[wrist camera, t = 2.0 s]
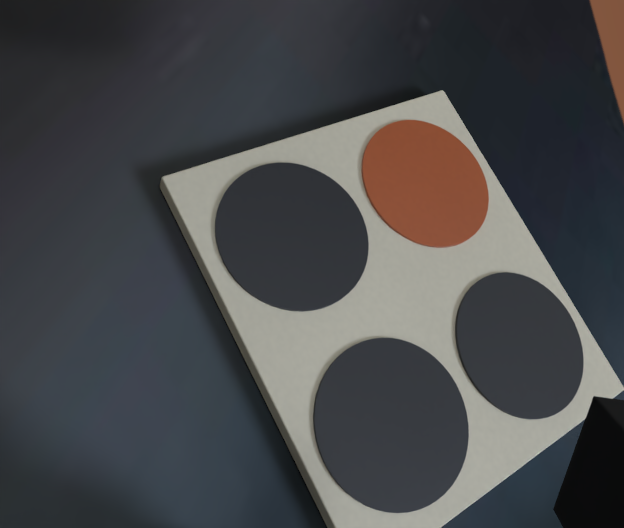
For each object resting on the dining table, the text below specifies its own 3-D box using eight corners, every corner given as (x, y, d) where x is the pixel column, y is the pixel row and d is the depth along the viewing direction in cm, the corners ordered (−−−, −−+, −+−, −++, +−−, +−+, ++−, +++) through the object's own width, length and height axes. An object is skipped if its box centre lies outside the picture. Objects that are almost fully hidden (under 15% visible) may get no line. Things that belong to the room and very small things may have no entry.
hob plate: (158, 186, 32) (161, 174, 30) (434, 99, 40) (444, 87, 39) (353, 582, 28) (365, 586, 27) (610, 392, 37) (628, 388, 35)
